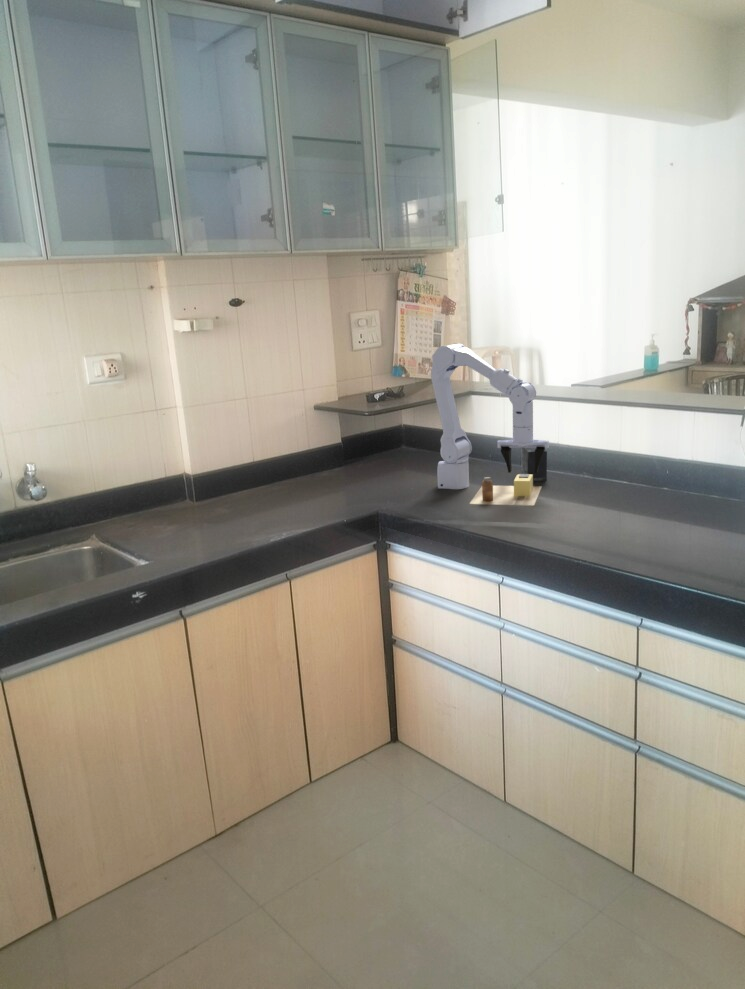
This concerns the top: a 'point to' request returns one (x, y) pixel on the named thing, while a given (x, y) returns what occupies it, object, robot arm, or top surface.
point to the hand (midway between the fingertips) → (523, 472)
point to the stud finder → (523, 485)
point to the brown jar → (487, 489)
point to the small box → (529, 464)
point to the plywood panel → (507, 496)
